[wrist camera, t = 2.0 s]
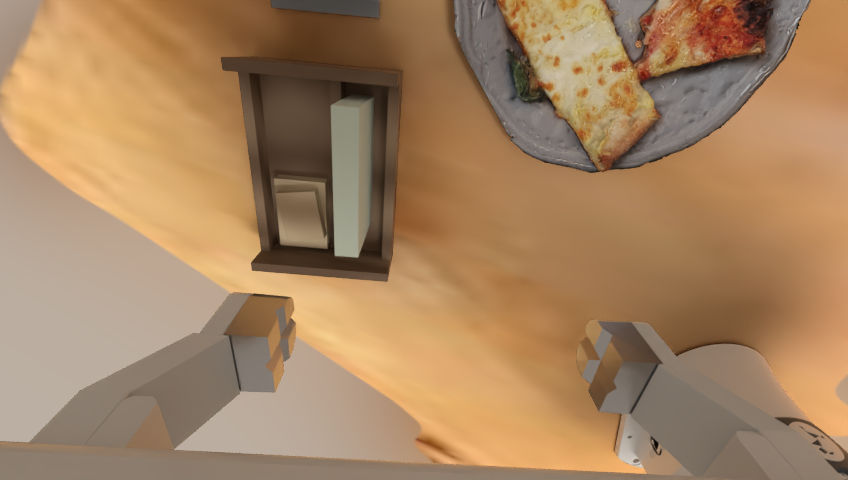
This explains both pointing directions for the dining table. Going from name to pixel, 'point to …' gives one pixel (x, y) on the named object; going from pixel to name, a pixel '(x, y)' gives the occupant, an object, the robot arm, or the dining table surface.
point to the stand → (333, 6)
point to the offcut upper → (301, 213)
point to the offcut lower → (323, 188)
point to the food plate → (621, 71)
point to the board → (352, 171)
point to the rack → (316, 154)
